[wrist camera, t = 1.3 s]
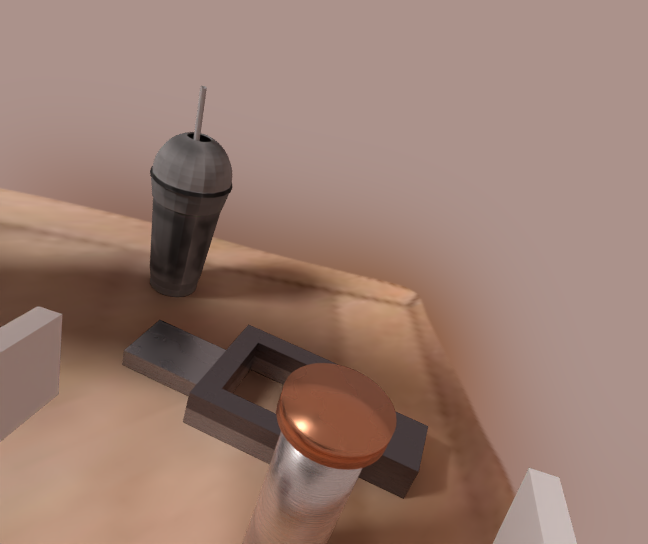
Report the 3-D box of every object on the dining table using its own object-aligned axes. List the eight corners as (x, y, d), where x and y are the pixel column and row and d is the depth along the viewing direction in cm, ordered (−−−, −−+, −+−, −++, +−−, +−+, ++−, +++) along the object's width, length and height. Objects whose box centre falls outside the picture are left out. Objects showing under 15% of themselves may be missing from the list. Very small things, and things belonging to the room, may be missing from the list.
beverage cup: (220, 278, 58) (262, 91, 48) (193, 314, 52) (236, 106, 42) (155, 256, 58) (184, 65, 49) (121, 289, 52) (147, 76, 42)
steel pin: (209, 548, 33) (262, 373, 26) (288, 519, 36) (354, 355, 29) (247, 641, 29) (321, 465, 22) (332, 599, 32) (419, 434, 26)
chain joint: (101, 382, 41) (105, 352, 40) (173, 319, 50) (178, 293, 49) (397, 525, 38) (412, 498, 37) (419, 431, 47) (432, 406, 45)
